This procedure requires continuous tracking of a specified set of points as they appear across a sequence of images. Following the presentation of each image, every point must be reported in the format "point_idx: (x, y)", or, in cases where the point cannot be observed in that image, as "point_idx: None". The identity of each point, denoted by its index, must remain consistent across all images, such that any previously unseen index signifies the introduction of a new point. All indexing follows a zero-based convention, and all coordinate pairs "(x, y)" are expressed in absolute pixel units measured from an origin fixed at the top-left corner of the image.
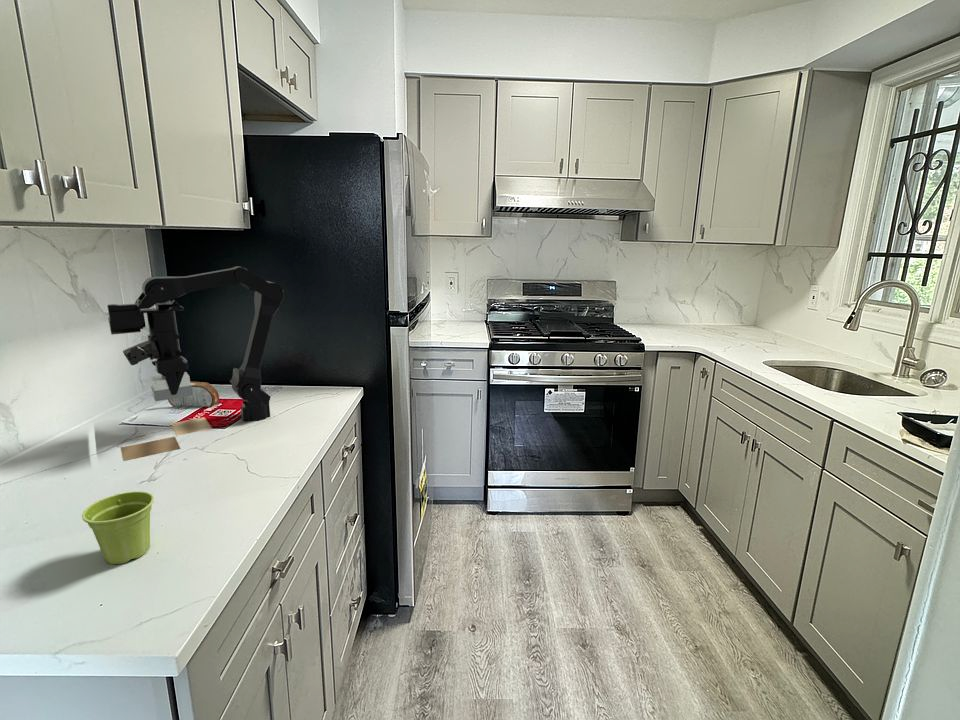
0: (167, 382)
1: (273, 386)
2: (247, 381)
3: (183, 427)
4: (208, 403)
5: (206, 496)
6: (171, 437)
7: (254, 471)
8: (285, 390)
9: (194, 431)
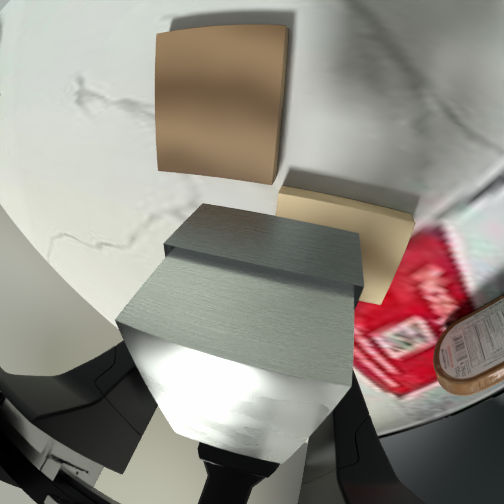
0: (109, 352)
1: (436, 415)
2: None
3: None
4: (448, 343)
5: (26, 167)
6: (269, 174)
7: (63, 238)
8: (400, 419)
9: None
